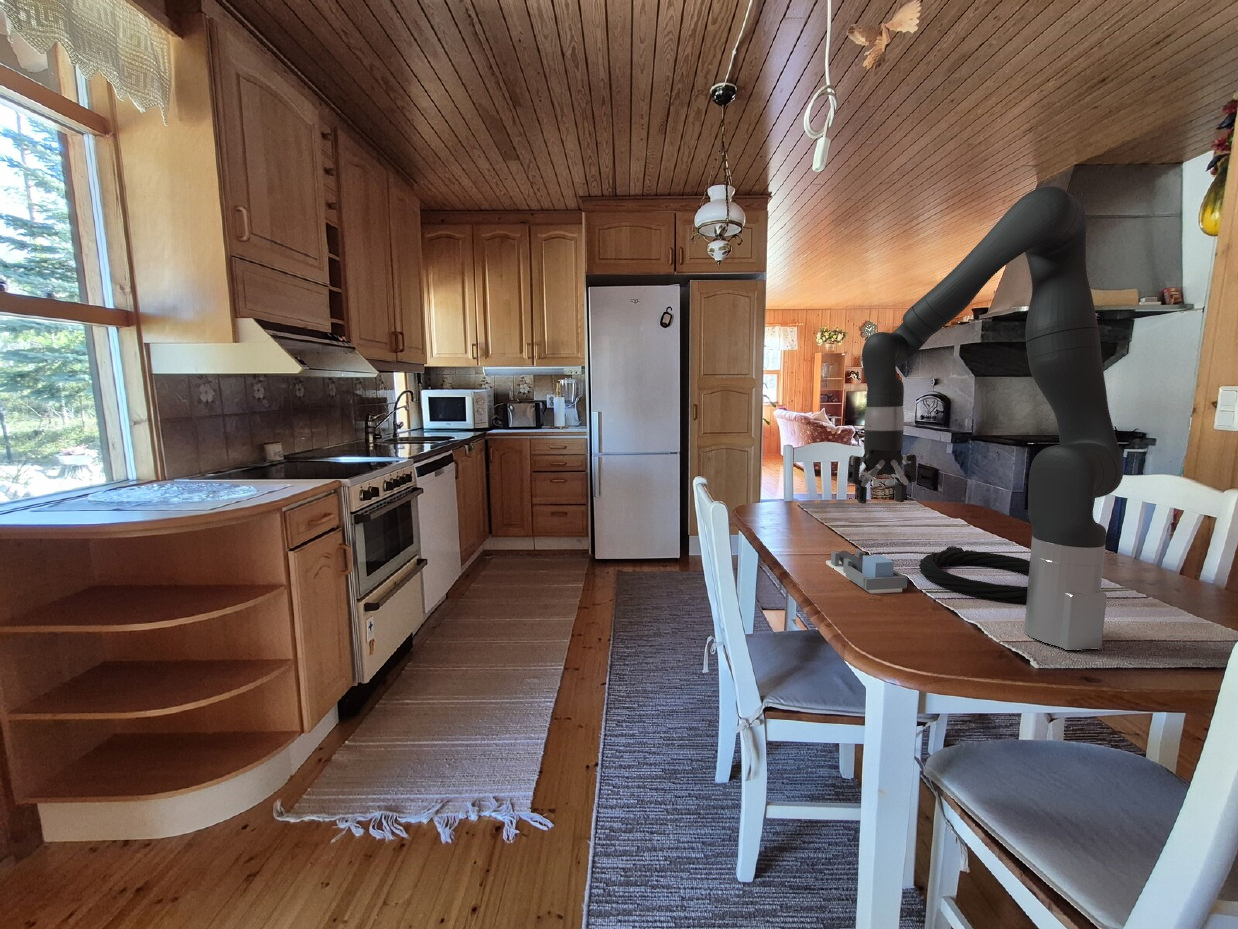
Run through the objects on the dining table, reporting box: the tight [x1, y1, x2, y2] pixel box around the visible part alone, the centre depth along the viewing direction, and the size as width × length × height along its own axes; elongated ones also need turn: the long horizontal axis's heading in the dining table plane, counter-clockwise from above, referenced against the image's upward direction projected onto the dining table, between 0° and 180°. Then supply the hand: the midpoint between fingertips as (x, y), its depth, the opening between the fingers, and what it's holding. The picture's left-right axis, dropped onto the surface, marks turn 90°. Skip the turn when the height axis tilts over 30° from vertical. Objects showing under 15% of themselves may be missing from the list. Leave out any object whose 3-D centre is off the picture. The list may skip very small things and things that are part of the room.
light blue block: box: [838, 550, 895, 577], centre depth 119 cm, size 17×4×6 cm, turn 4°
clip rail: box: [825, 549, 908, 595], centre depth 119 cm, size 20×9×4 cm, turn 4°
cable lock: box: [918, 545, 1030, 605], centre depth 116 cm, size 28×4×30 cm
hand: (880, 502), depth 113 cm, fingers open, 8 cm apart
